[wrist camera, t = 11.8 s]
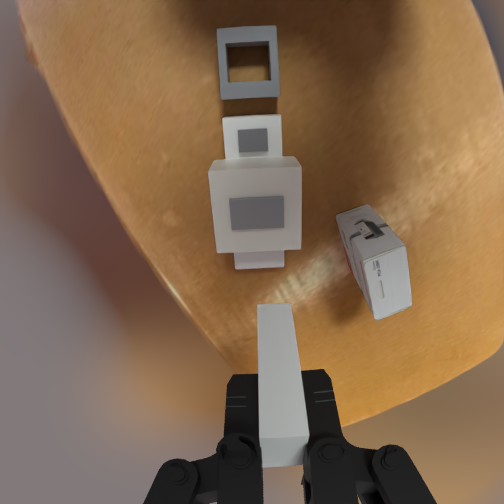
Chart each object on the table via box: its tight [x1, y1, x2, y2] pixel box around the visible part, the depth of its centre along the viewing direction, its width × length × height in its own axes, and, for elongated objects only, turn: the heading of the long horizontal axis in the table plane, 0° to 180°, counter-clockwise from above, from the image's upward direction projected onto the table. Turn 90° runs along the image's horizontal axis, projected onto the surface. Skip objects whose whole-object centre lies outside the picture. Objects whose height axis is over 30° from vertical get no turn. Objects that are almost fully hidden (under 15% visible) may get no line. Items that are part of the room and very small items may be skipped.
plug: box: [208, 156, 302, 253], centre depth 32 cm, size 8×8×8 cm
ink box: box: [336, 204, 412, 321], centre depth 34 cm, size 9×5×12 cm, turn 22°
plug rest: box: [216, 25, 280, 100], centre depth 28 cm, size 8×6×3 cm
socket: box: [222, 114, 284, 269], centre depth 35 cm, size 18×6×4 cm, turn 3°
